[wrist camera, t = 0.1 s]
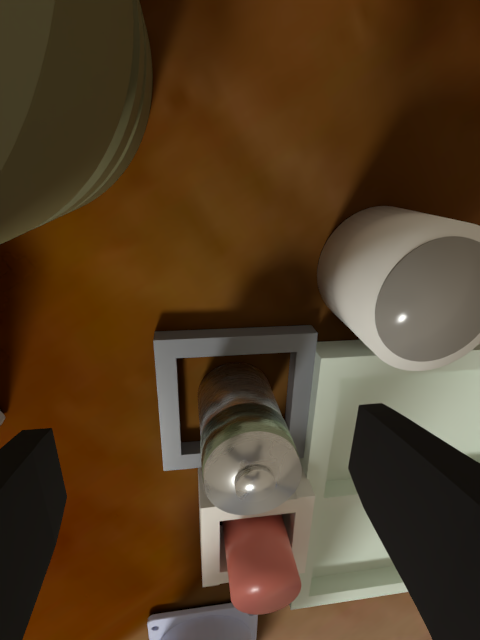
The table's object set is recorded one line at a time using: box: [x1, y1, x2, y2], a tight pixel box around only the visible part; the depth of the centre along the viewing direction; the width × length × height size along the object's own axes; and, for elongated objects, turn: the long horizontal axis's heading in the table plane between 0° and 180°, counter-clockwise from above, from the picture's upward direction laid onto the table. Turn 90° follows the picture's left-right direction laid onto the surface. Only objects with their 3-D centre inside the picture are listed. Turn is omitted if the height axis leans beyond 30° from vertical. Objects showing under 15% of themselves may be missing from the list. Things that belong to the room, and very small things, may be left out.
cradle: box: [153, 325, 318, 471], centre depth 20 cm, size 8×8×1 cm
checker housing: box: [198, 466, 315, 587], centre depth 22 cm, size 6×6×3 cm
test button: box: [222, 514, 301, 615], centre depth 20 cm, size 4×4×4 cm
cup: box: [317, 206, 480, 371], centre depth 16 cm, size 6×6×5 cm
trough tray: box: [289, 340, 480, 610], centre depth 24 cm, size 20×14×2 cm
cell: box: [198, 362, 302, 515], centre depth 17 cm, size 4×4×6 cm
